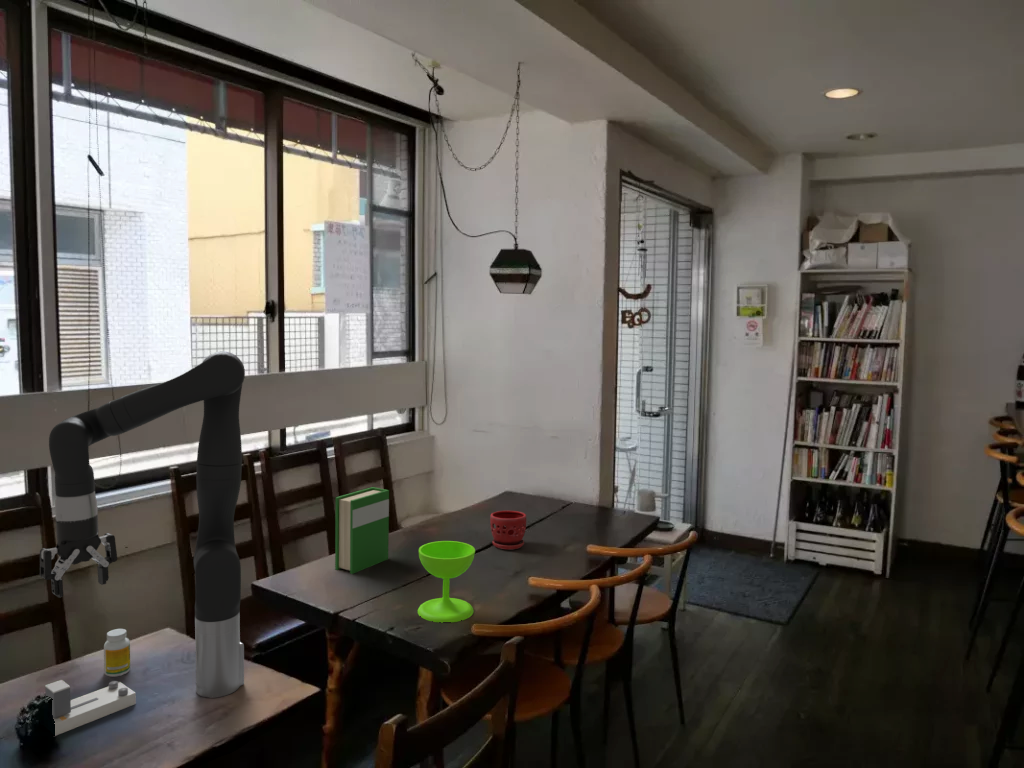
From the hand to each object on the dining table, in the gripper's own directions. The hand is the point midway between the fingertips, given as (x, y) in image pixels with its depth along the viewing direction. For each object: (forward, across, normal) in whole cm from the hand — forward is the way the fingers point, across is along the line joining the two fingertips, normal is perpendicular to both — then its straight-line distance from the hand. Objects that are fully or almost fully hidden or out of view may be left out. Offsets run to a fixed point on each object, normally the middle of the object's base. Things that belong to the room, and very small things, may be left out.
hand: (81, 589), depth 157 cm
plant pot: (+29, -144, +3) cm, 147 cm away
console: (+25, +2, +4) cm, 26 cm away
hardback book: (+27, -97, -22) cm, 103 cm away
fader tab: (+22, +7, +4) cm, 24 cm away
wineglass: (+28, -86, +25) cm, 94 cm away
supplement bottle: (+26, -11, -10) cm, 29 cm away
